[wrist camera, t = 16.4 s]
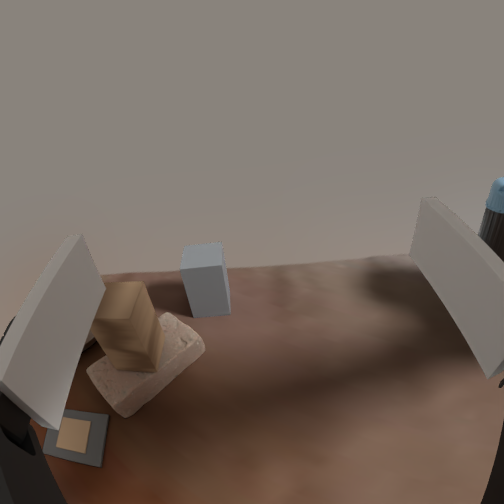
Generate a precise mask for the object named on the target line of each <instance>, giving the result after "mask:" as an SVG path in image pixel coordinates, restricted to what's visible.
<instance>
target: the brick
mask: <svg viewBox="0 0 504 504" xmlns="http://www.w3.org/2000/svg"><path fill="white" fill-rule="evenodd" d="M158 320H159V322H160V325H161V327H162V330H163V332H164V334H165V341H164V345H163V349H162V354H161V359H160V363H159V368H158V372H141V371H126V370H116V368H115V367H114V366H113V364H112V363H111V361H110V360H109V358H108V357H107V355H105V356H104V357H103V358H101V359H100V360H98V361H96V362H95V363H93V364H92V365H91V366H89V367H88V368H87V370H86V372H87V374H88V375H89V377H90V379H91V381H92V382H93V384H94V385H95V387H96V388H97V389H98V391H99V392H100V393H101V395H102V396H103V397H104V399H105V400H106V401H107V402H108V403H109V404H110V405H111V407H112V408H113V409H114V410H115V411H116V412H117V413H118V414H120V415H121V416H122V417H124V418H127V417H130V416H131V415H133V414H134V413H135V412H136V411H138V410H139V409H140V408H141V407H142V406H143V404H145V403H147V402H149V401H150V400H151V399H152V398H153V397H154V396H155V395H157V394H158V393H159V392H160V391H161V390H162V389H164V387H165V386H167V385H168V384H169V383H170V382H171V381H172V380H173V379H174V378H175V377H176V376H177V375H179V374H180V373H181V372H182V371H183V370H184V369H185V368H187V367H188V366H189V365H191V364H192V363H193V362H194V361H196V360H197V359H198V358H199V357H200V356H201V355H202V354H203V353H204V352H205V345H204V342H203V340H202V338H201V337H200V336H199V335H198V334H197V333H196V332H195V331H194V330H193V329H192V328H190V327H189V326H188V325H185V324H184V323H182V322H181V321H180V320H178V319H177V318H176V317H175V316H173V315H172V314H171V313H168V312H166V313H164V314H163V315H161V316H160V317H158Z"/></svg>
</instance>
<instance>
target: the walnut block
mask: <svg viewBox="0 0 504 504" xmlns="http://www.w3.org/2000/svg"><path fill="white" fill-rule="evenodd" d="M104 285H105V287H106V290H105V292H104V295H103V297H102V299H101V302H100V304H99V307H98V309H97V312H96V314H95V317H94V320H93V322H92V325H91V327H90V330H91V332H92V333H93V335H94V337H95V338H96V340H97V341H98V343H99V345H100V346H101V348H102V349H103V351H104V352H105V354H106V355H107V357H108V358H109V360H110V361H111V363H112V364H113V366H114V367H115V368H116V370H126V371H141V372H158V368H159V363H160V359H161V354H162V349H163V345H164V341H165V334H164V332H163V330H162V327H161V325H160V322H159V320H158V318H157V315H156V313H155V310H154V308H153V305H152V302H151V300H150V297H149V295H148V292H147V289H146V287H145V284H144V281H138V282H113V283H104Z"/></svg>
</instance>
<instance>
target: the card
mask: <svg viewBox="0 0 504 504" xmlns="http://www.w3.org/2000/svg"><path fill="white" fill-rule="evenodd" d="M109 417H110V416H109V415H108V414H98V413H90V412H83V411H76V410H69V409H64V412H63V416H62V420H61V424H60V428H59V430H54V429H50V428H48V429H47V433H46V437H45V441H44V446H43V450H42V451H43V453H44V454H47V455H50V456H54V457H57V458H61V459H65V460H69V461H73V462H77V463H81V464H85V465H90V466H95V467H100V468H102V461H103V454H104V447H105V441H106V435H107V429H108V423H109Z"/></svg>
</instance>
